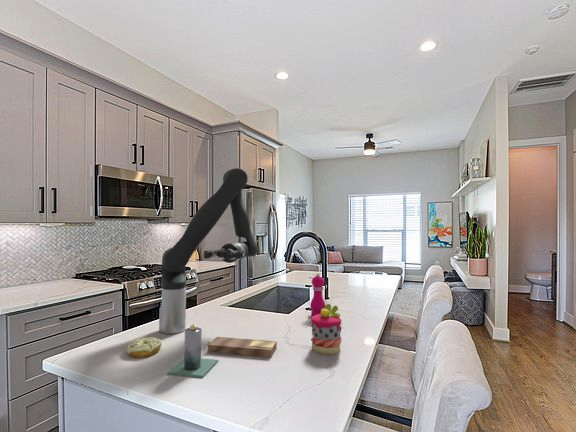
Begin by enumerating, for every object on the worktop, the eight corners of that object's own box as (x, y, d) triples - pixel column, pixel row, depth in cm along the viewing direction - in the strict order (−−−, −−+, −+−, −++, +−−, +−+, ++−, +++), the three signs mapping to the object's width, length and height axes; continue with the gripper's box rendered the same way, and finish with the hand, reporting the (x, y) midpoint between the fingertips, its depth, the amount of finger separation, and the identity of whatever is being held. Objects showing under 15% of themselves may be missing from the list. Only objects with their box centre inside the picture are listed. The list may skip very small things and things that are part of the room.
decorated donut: (121, 359, 106) (121, 347, 106) (134, 346, 116) (134, 335, 116) (155, 358, 106) (155, 346, 106) (165, 346, 117) (165, 335, 117)
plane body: (207, 352, 111) (207, 344, 111) (217, 343, 119) (217, 336, 119) (271, 357, 107) (271, 349, 107) (276, 348, 115) (276, 340, 115)
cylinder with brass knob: (180, 369, 96) (182, 326, 96) (188, 362, 101) (189, 321, 101) (196, 371, 96) (197, 327, 96) (203, 364, 100) (204, 322, 100)
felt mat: (167, 374, 95) (167, 372, 95) (186, 358, 106) (186, 356, 106) (202, 377, 93) (203, 375, 93) (218, 361, 104) (218, 359, 104)
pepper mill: (324, 317, 153) (324, 274, 154) (309, 316, 155) (309, 274, 155) (326, 313, 160) (326, 272, 161) (311, 312, 162) (311, 271, 162)
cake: (339, 357, 108) (339, 311, 109) (307, 353, 111) (308, 308, 112) (343, 345, 118) (343, 303, 119) (314, 342, 121) (314, 301, 122)
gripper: (216, 242, 133) (198, 245, 117) (250, 243, 130) (236, 245, 115) (216, 261, 133) (197, 266, 117) (249, 262, 130) (235, 267, 114)
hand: (216, 256), depth 116 cm, fingers open, 8 cm apart
